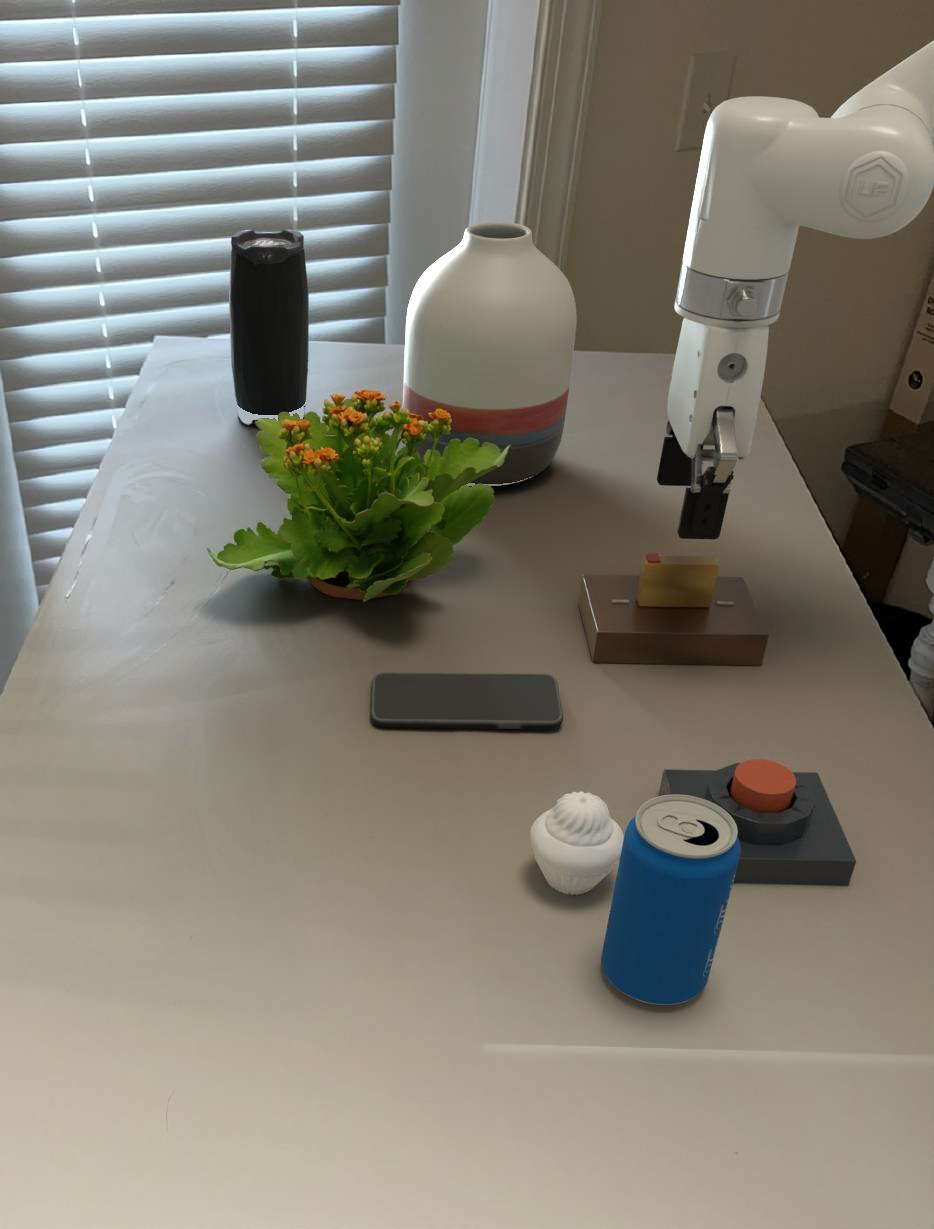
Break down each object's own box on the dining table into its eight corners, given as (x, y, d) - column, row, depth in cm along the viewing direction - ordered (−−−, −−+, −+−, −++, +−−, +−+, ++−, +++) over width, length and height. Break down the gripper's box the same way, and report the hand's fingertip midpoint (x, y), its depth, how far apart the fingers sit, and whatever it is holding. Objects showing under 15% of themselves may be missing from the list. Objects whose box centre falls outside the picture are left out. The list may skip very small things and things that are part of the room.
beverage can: (684, 1029, 79) (723, 875, 72) (583, 987, 82) (610, 835, 75) (720, 964, 84) (760, 812, 76) (622, 927, 86) (652, 777, 79)
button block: (810, 796, 97) (823, 751, 95) (848, 886, 89) (864, 840, 87) (658, 793, 98) (667, 748, 95) (682, 882, 90) (693, 836, 87)
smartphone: (371, 670, 109) (556, 672, 108) (371, 680, 110) (555, 681, 109) (370, 721, 104) (565, 723, 103) (370, 731, 104) (564, 733, 103)
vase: (377, 483, 140) (385, 243, 125) (429, 425, 152) (442, 200, 137) (535, 510, 134) (563, 263, 120) (575, 448, 147) (605, 217, 132)
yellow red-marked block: (706, 598, 114) (715, 553, 111) (710, 607, 113) (719, 562, 110) (635, 597, 114) (643, 552, 112) (638, 606, 113) (646, 561, 110)
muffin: (515, 897, 89) (525, 814, 84) (535, 843, 93) (546, 761, 89) (608, 919, 87) (624, 835, 83) (624, 862, 91) (640, 780, 87)
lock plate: (736, 606, 119) (743, 574, 117) (761, 666, 111) (769, 632, 109) (578, 604, 120) (582, 572, 118) (592, 663, 112) (597, 629, 110)
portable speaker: (309, 402, 157) (309, 224, 145) (306, 433, 150) (306, 249, 138) (236, 401, 158) (230, 224, 145) (230, 432, 150) (223, 248, 138)
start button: (782, 779, 93) (788, 759, 92) (797, 815, 90) (803, 794, 89) (724, 778, 93) (729, 758, 92) (736, 814, 90) (742, 793, 89)
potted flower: (281, 503, 136) (279, 327, 125) (513, 531, 131) (532, 351, 120) (200, 622, 117) (188, 428, 106) (467, 660, 112) (484, 461, 101)
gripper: (812, 332, 91) (756, 561, 102) (755, 257, 104) (712, 466, 115) (700, 330, 91) (657, 558, 102) (658, 255, 104) (624, 464, 115)
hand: (686, 509), depth 108 cm, fingers open, 9 cm apart
